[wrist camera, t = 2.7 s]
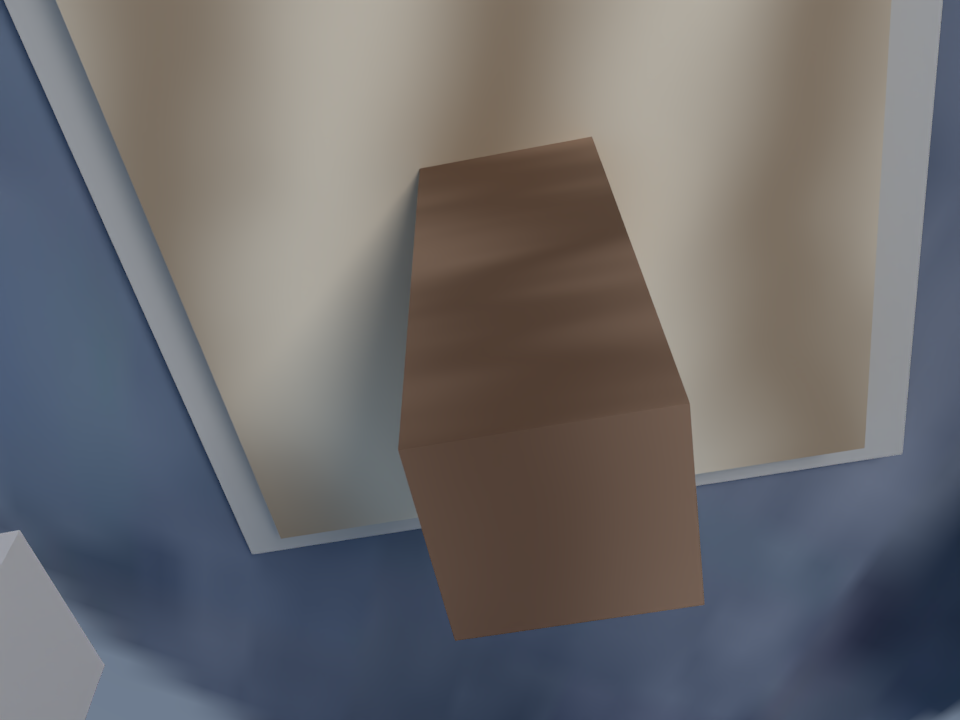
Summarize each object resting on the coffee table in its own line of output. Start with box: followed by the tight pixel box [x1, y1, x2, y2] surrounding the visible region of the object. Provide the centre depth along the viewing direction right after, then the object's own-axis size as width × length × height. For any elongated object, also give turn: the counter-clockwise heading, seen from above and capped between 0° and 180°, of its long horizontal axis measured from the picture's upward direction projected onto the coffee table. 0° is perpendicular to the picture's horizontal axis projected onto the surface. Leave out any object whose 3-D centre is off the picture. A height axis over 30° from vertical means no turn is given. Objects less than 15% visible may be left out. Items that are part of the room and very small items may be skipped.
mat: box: [4, 0, 943, 554], centre depth 21 cm, size 18×18×1 cm
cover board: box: [56, 0, 891, 641], centre depth 16 cm, size 15×15×10 cm
